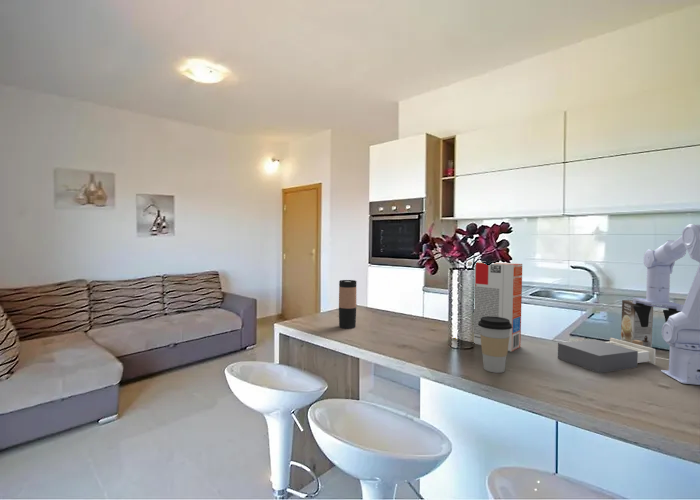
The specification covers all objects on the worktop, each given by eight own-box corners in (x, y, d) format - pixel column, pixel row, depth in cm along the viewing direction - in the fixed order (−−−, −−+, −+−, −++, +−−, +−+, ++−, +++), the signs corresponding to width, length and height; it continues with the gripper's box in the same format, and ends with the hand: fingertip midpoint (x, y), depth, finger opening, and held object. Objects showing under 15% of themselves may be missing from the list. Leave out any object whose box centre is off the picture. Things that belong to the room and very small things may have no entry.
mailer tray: (618, 369, 110) (619, 351, 110) (576, 354, 123) (576, 339, 123) (662, 362, 116) (663, 346, 116) (618, 349, 130) (618, 335, 130)
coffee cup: (502, 364, 114) (503, 315, 114) (517, 375, 105) (518, 322, 105) (472, 364, 114) (473, 315, 114) (484, 375, 105) (485, 322, 104)
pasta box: (520, 346, 133) (522, 263, 133) (511, 351, 128) (513, 264, 127) (461, 334, 149) (463, 260, 149) (451, 338, 144) (452, 261, 143)
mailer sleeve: (598, 372, 108) (599, 355, 107) (557, 358, 121) (558, 342, 121) (637, 367, 113) (637, 351, 113) (593, 353, 126) (594, 339, 126)
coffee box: (619, 341, 143) (621, 299, 142) (638, 342, 141) (639, 300, 141) (632, 347, 134) (634, 303, 133) (653, 349, 132) (654, 304, 132)
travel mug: (335, 325, 163) (336, 280, 162) (351, 324, 166) (352, 279, 166) (342, 329, 156) (343, 282, 155) (359, 327, 159) (359, 281, 159)
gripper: (626, 285, 125) (625, 325, 125) (673, 290, 111) (671, 335, 111) (642, 284, 127) (641, 324, 127) (690, 290, 113) (689, 334, 113)
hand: (656, 329), depth 119 cm, fingers open, 7 cm apart
